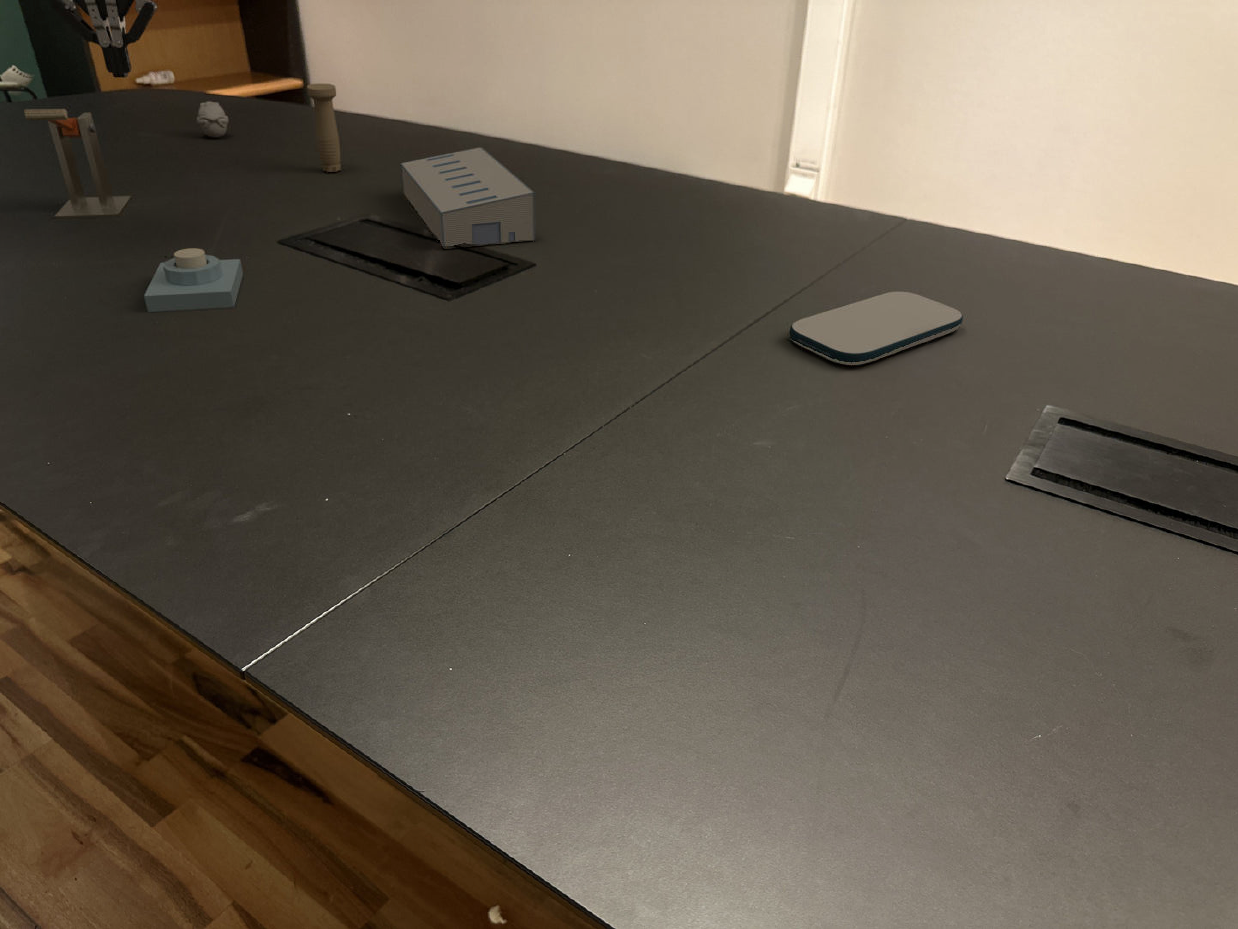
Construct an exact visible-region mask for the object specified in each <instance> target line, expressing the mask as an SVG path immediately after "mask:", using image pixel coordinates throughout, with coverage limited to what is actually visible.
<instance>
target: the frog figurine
mask: <svg viewBox="0 0 1238 929" xmlns="http://www.w3.org/2000/svg"><path fill="white" fill-rule="evenodd" d="M196 122H197V124H198V126H200V128H201V130H202V132H203V133H204V134H205V135H206V136H208V137H210V138H213V139H218V138H221V137H223V136H224V135H225V134H226V133H227V129H228V126H227V125H228V124H229V117H228V116H227V115H226V113H225V110H224V109H223V107H222V106H221V105H220V103H219V102H216V101H214V102H213V101H212V100H210V101H205V102H201V103H200V104H199V108H198V111H197V117H196Z"/></svg>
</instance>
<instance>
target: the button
mask: <svg viewBox="0 0 1238 929" xmlns="http://www.w3.org/2000/svg"><path fill="white" fill-rule="evenodd" d="M205 252H206V251H205V250H204V249H202V248H193V247H192V248H191V247H190V248H183V249H180V250H177V251H175V252H174V253H173V258H175V262H176V266H177V268H183V269H189V268H197V267H202V266H205V265H207V261H206V256H205V255H206V253H205Z"/></svg>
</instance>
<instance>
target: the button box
mask: <svg viewBox="0 0 1238 929" xmlns="http://www.w3.org/2000/svg"><path fill="white" fill-rule="evenodd" d="M205 256H206V261H207V265H205V266H202V267H197V268H189V269H183V268H177V266H176V262H175V258H174V257H172V258H171V259H168V260H167V261H165V262H160V263H159V265H158V267H157V269H156V271H155V273H154V275H153V276H152V280H151V281H150V283H149V285H148V286H147V289H146V291H145V292H144V295H143V299H144V301H145V302H144V303H145V306H146V309H147V313H158V312H159V313H160V312H175V311H192V310H212V309H227V308H228V309H229V308H235V306H236V301H237V297H238V294H239V291H240V286H241V283H242V280H243V277H244V276H243V275H244V271H243V267H242V262H241V259H240V258H235V259H234V258H233V259H219V258H218V257H216V256H214V255H212V254H211V255H210V254H205Z"/></svg>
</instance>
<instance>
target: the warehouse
mask: <svg viewBox="0 0 1238 929" xmlns="http://www.w3.org/2000/svg"><path fill="white" fill-rule="evenodd" d="M400 171H401V173H400V174H401V175H400V176H401V185H402V186H401V187H402V194H403V193H404V194H405V195H406V197H407V198H408V199H409V200H410V202H411V204H412V205H413V206H414V208H415V210H417V211H418V213H419V215H420V216H421V217H422V218H423V220H424V222H426V224H427V226H428V227H429V228H430V230H431V231H432V232H433V233H434V234H435V235H436V236H437V237H438V240H440V242H441V244H442V246H454V245H458V244H463V243H466V244H485V243H486V244H487V243H495V242H496V243H497V242H509V241H519V240H535V241H536V205H535V204H536V202H535V200H536V199H535V198H536V197H535V195H536V194H535V191H534V190H532V189H531V188H530V187H529V186H528V185H526V183H525V182H523V181H522V180H520V179H519V178H518V176H516V175H515V174H513V173H512V172H511V171H510V170H509V169H508V168H507V167H505V166H504V165H503V164H502V163H501V162H500V161H498V160H497V159H496V158H495V157H494V156H492V155H491V154H490V153H489V152H488V151H486V150H485V149H484V148H483V147H482V146H479V147H475V148H470V149H463V150H459V151H454V152H449V153H445V154H440V155H435V156H430V157H425V158H421V159H415V160H410V161H405V162H401V163H400ZM415 210H414V211H415ZM424 222H423V223H424ZM427 226H426V227H427Z"/></svg>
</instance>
